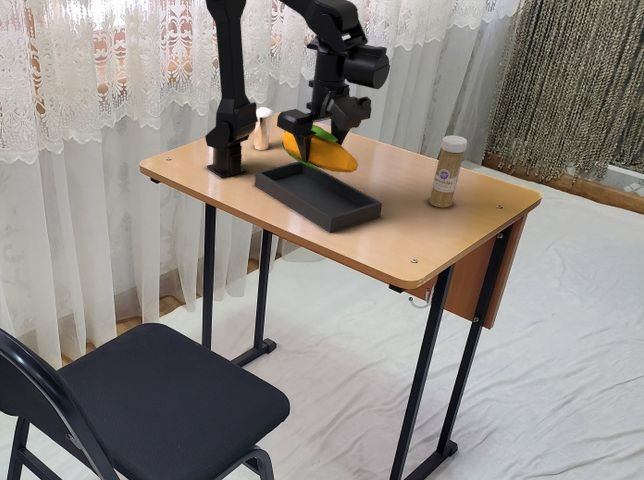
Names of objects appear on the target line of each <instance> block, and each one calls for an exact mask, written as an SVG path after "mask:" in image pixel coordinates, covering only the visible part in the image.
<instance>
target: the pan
mask: <svg viewBox="0 0 644 480" xmlns="http://www.w3.org/2000/svg"><path fill="white" fill-rule="evenodd" d="M320 170H321V171H319V170H317V169H314V168H311V167H309V166H307V165H305V164H303V163H301V162H299V161H294V162H289V163H285V164H282V165H279V166H275V167H271V168H267V169H264V170H263V169H262V170H259V171H256V172H255V173H254V174H255V175H254V187H256V188H258V189H259V190H261V191H263V192H264V193H266V194H267V195H269V196H270V197H272V198H274V199H275V200H276V201H279V202H280V203H282V204H283V205H285V206H287V207H288V208H290V209H291V210H293V211H295V212H296V213H298V214H299V215H301V216H302V217H304V218H306V219H307V220H309V221H311V222H312V223H314V225H317V226H319V227H320V228H322V229H323V230H325V231H327V232H328V233H333V232H336V231H339V230H343V229H346V228H349V227H353V226H355V225H360V224H363V223H365V222H368V221H372V220H375V219H378V218H380V217H381V213H382V208H383V202H381V201H379V200H378V199H375V198H374V197H372V196H370V195H368V194H367V193H364V192H362V191H360V190H359V189H357V188H356V187H353V186H351V185H350V184H348V183H347V182H344V181H342V180H340V179H338V178H336V177H335V176H333V175H331V174H329V173H328V172H326V171H324V170H323V169H320ZM322 171H323V172H322Z"/></svg>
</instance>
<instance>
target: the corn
mask: <svg viewBox="0 0 644 480" xmlns="http://www.w3.org/2000/svg"><path fill="white" fill-rule="evenodd" d="M312 130H313V131H315V132H317V133H316V134H315V135H314V136H313V137H312V139H311V146H310V154H309V159H308V162H307V163H305V162H303V160H302V158H301V155H300V152H299V149H298V146H297V143H296V141H295V138H294V136H293V134H291V133H289V132H287V131H285V130H284V133H283V134H282V136H281V140H282V141H281V144H282V147H283V150H285V151H286V153H287V154H288V155H289V156H290V157H291V158H293V159H294V160H296V162H298V161H299V162H301V163H303V164H305V165H307V166H309V167H311V168H314V169H317V170H319V171H321V170H322V172H323V171H324V170H327V171H330V172H335V173H354V172H355V171H357V170H358V167H359V163H358V160H357V158H355V157H354V156H353V155H351V153H349V151H348V150H346V148H344V147H343V146H342V145H340V144H338V143H336V141H338V140H337V139H336V137H334V136H333V135H332V134H331V132H329V131H326V130H325V129H324V128H322V127H321V126H317V125H315V124H313V127H312Z"/></svg>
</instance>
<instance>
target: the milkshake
mask: <svg viewBox="0 0 644 480" xmlns="http://www.w3.org/2000/svg"><path fill="white" fill-rule="evenodd" d="M256 114H257V119H258V122H256V127H255V130H253V132H254V133H253V136H254V139H253V140H254V148H255V149H256V150H259V151H265V150H268V149H269V147H270V146H269V145H270V138H271V132H272V126H273V121H274V114H275V113H274V111H273V110H272V109H271V108H269V107H264V106H260V107H259V108H257V109H256Z"/></svg>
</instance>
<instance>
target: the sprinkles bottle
mask: <svg viewBox="0 0 644 480" xmlns="http://www.w3.org/2000/svg"><path fill="white" fill-rule="evenodd" d="M467 146H468V140H467V138H465V137H463V136H460V135H446V136H444V137H443V138H442V141H441V144H440V152H439V153H440V154H439V157H438V161H437V166H436V171H435V172H434V178H433V181H432V188H431V192H430V196H429V199H428V202H429V204H430V205H432V206H434V207H436V208H448V207H451V206H453V199H454V194H455V191H456V187H457V184H458V181H459V180H458V179H459V175H460V172H461V167H462V163H463V158H464V155H465V151H466V150H467Z"/></svg>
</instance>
